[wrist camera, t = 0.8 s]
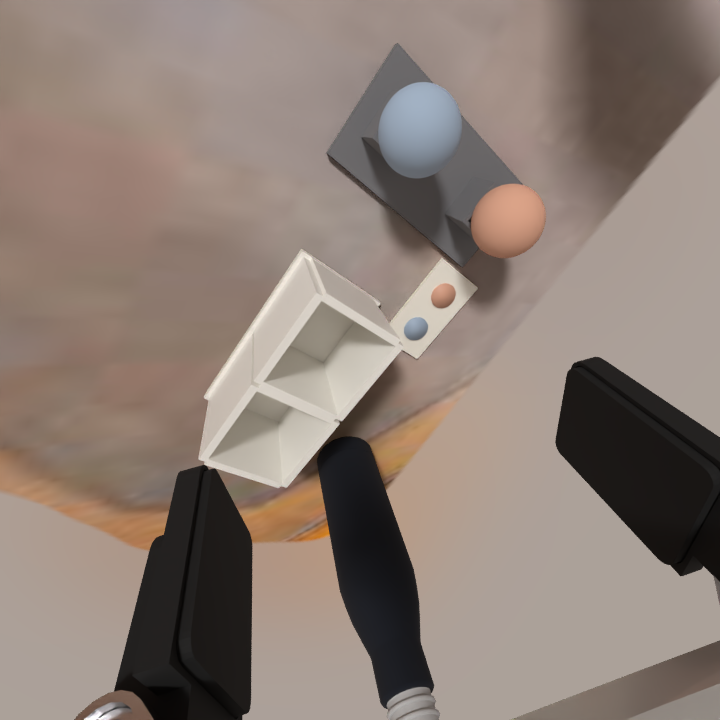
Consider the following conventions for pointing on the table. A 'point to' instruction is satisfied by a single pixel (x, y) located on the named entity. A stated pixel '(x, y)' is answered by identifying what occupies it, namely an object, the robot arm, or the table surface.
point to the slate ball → (420, 130)
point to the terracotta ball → (508, 220)
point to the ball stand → (420, 195)
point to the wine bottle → (376, 577)
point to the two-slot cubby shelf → (295, 374)
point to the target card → (431, 307)
